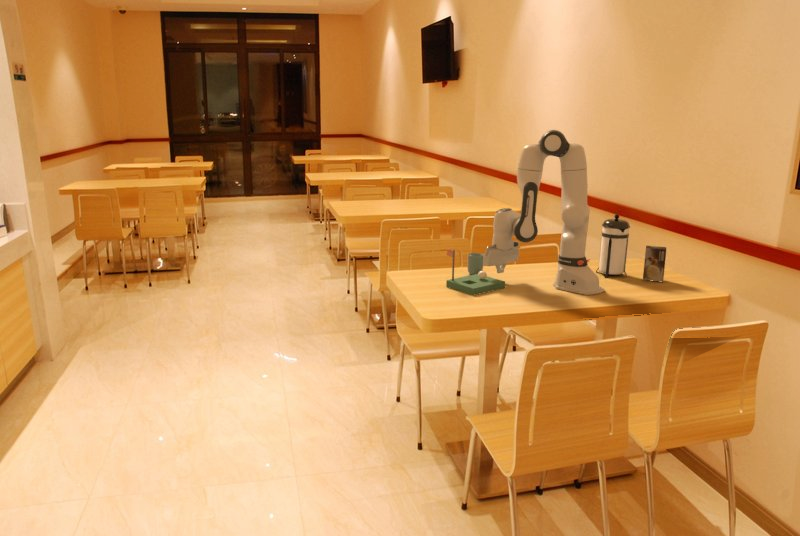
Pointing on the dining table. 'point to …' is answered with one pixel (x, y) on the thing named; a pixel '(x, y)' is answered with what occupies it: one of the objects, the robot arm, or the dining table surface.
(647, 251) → the coffee box
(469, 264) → the cup
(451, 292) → the dining table surface
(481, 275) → the ball
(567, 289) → the robot arm
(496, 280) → the putting green
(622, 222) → the coffee press
